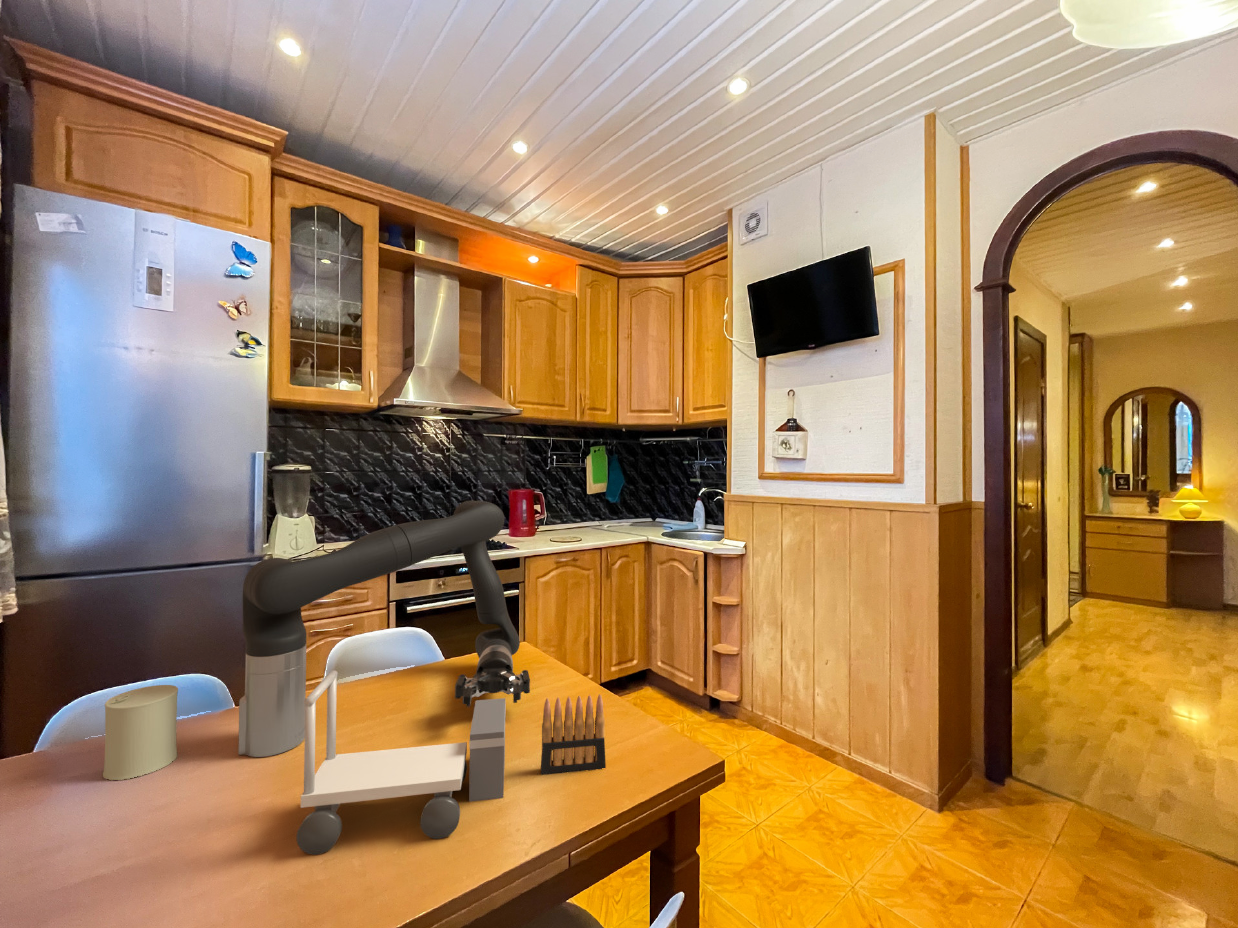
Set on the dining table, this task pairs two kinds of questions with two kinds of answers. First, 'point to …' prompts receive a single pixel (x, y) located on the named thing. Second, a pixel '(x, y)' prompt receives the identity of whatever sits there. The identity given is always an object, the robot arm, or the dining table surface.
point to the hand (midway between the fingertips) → (492, 699)
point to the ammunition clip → (573, 738)
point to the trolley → (374, 779)
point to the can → (140, 731)
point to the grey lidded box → (487, 750)
